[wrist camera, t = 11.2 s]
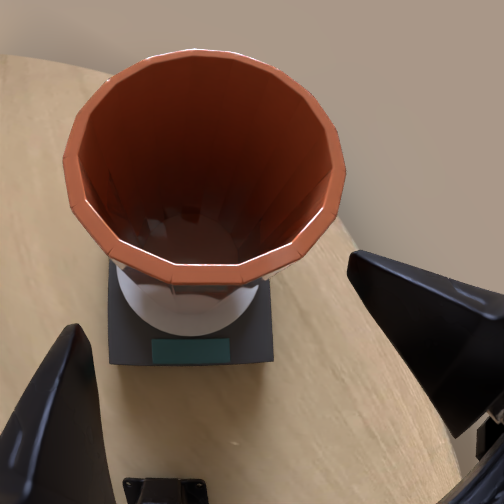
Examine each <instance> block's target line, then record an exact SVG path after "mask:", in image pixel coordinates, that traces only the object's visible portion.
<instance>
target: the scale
mask: <svg viewBox="0 0 504 504" xmlns="http://www.w3.org/2000/svg"><path fill="white" fill-rule="evenodd" d="M108 346H109V364H114V365H135V366H212V365H233V364H249V363H261V362H273V361H274V354H273V335H272V316H271V298H270V281H269V279H267V280H266V281H264V282H262V283H260V284H259V285H257V286H255V287H254V288H252V289H250V290H249V291H247V292H245V293H243V294H242V295H240V296H238V297H237V298H235V299H233V300H231V301H230V302H228V303H226V304H224V305H223V306H221V307H218V308H216V309H214V310H212V311H209V312H207V313H204V314H201V315H180V314H177V313H174V312H171V311H169V310H167V309H165V308H163V307H160V306H159V305H157V304H156V303H155V302H154V301H153V300H152V299H151V298H150V297H149V296H148V295H147V294H145V293H144V292H143V291H142V290H141V289H140V288H139V287H138V286H137V285H136V284H135V283H134V282H133V281H132V280H131V279H130V278H129V277H128V276H127V275H126V274H125V273H124V272H123V271H122V270H121V269H120V268H119V267H118V266H117V265H116V264H115V263H114V262H113V261H112V260H111V259H109V278H108Z"/></svg>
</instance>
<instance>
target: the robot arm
mask: <svg viewBox="0 0 504 504" xmlns="http://www.w3.org/2000/svg"><path fill="white" fill-rule="evenodd" d="M347 277H348V279H349V281H350V282H351V284H352V285H353V287H354V289H355V290H356V292H357V294H358V295H359V297H360V299H361V300H362V302H363V304H364V305H365V307H366V308H367V310H368V312H369V313H370V314H371V316H372V317H373V319H374V320H375V321H376V323H377V324H378V325H379V327H380V328H381V329H382V331H383V332H384V334H385V335H386V336H387V338H388V339H389V341H390V342H391V343H392V345H393V346H394V348H395V349H396V350H397V352H398V353H399V355H400V356H401V358H402V359H403V360H404V362H405V363H406V365H407V366H408V368H409V369H410V371H411V372H412V373H413V375H414V376H415V378H416V379H417V381H418V382H419V384H420V385H421V387H422V388H423V390H424V391H425V393H426V394H427V396H428V397H429V399H430V401H431V402H432V404H433V405H434V407H435V409H436V410H437V412H438V413H439V415H440V416H441V418H442V420H443V421H444V423H445V424H446V426H447V428H448V429H449V431H450V433H451V434H452V436H453V437H454V438H455V439H456V438H457V437H459V436H460V435H461V434H462V433H463V432H465V431H466V430H467V429H468V428H469V427H470V426H471V425H473V424H474V423H475V422H476V421H477V420H478V419H479V418H480V417H481V416H482V415H483V414H484V413H485V412H487V413H488V414H489V415H490V416H489V417H488V418H487V419H486V420H485V421H484V423H483V424H482V425H481V426H480V427H479V428H478V429H477V443H476V458H477V459H478V460H479V462H478V463H477V464H476V466H475V467H474V468H473V469H472V470H471V471H470V472H469V473H468V474H467V475H466V476H465V477H464V478H463V479H462V480H461V481H460V482H459V483H458V484H457V485H456V486H455V487H454V488H453V489H452V490H451V491H450V492H449V493H448V494H447V495H445V496H444V497H443V498H442V499H441V500H440V501H439V502H438V503H436V504H504V295H503V294H500V293H496V292H492V291H489V290H485V289H482V288H479V287H475V286H472V285H468V284H465V283H462V282H459V281H456V280H453V279H450V278H449V279H448V278H447V277H444V276H441V275H438V274H435V273H432V272H429V271H426V270H423V269H420V268H417V267H414V266H411V265H408V264H404V263H401V262H398V261H395V260H392V259H389V258H386V257H382V256H379V255H376V254H373V253H370V252H366V251H363V250H358V251H355V252H352V253H351V254H350V256H349V262H348V268H347ZM14 410H15V411H13V413H12V415H11V417H10V418H9V420H8V422H7V424H6V426H5V428H4V430H3V432H2V434H1V435H0V504H116V501H115V497H114V493H113V489H112V484H111V480H110V475H109V470H108V464H107V459H106V453H105V446H104V439H103V432H102V424H101V415H100V404H99V394H98V387H97V381H96V375H95V369H94V362H93V355H92V348H91V344H90V342H89V340H88V338H87V337H86V335H85V333H84V331H83V329H82V328H81V326H80V325H79V324H77V323H75V324H71V325H67V326H66V327H65V328H64V329H63V331H62V332H61V334H60V335H59V337H58V338H57V340H56V341H55V343H54V344H53V346H52V347H51V349H50V350H49V352H48V353H47V355H46V357H45V358H44V360H43V361H42V363H41V364H40V366H39V368H38V369H37V371H36V373H35V374H34V376H33V377H32V379H31V381H30V383H29V384H28V386H27V388H26V389H25V391H24V393H23V395H22V396H21V398H20V400H19V402H18V404H17V405H16V407H15V409H14ZM126 482H129V483H131V484H132V485H129V484H127V483H126ZM197 484H202V486H197ZM123 488H124V492H125V495H126V499H127V503H128V504H209V502H208V495H207V488H206V483H205V481H204V480H201V479H186V480H179V479H177V478H145V479H140V478H125V479H124V480H123Z"/></svg>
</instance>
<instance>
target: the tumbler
mask: <svg viewBox="0 0 504 504" xmlns="http://www.w3.org/2000/svg"><path fill="white" fill-rule="evenodd" d="M63 169H64V175H65V182H66V187H67V193H68V198H69V204H70V208H71V210H72V212H73V214H74V215H75V216H76V218H77V219H78V220H79V222H80V223H81V224H82V225H83V227H84V228H85V229H86V231H87V232H88V233H89V234H90V236H91V237H92V238H93V239H94V240H95V242H96V243H97V244H98V245H99V247H100V248H101V249H102V250H103V251H104V253H105V254H106V255H107V256H108V257H109V258H110V259H111V260H112V261H113V262H114V263H115V264H116V265H117V266H118V267H119V268H120V269H121V270H122V271H123V272H124V273H125V274H126V275H127V276H128V277H129V278H130V279H131V280H132V281H133V282H134V283H135V284H136V285H137V286H138V287H139V288H140V289H141V290H142V291H143V292H144V293H145V294H147V295H148V296H149V297H150V298H151V299H152V300H153V301H154V302H155V303H156V304H157V305H159V306H160V307H163V308H165V309H167V310H169V311H171V312H174V313H177V314H180V315H201V314H204V313H207V312H209V311H212V310H214V309H216V308H218V307H221V306H223V305H224V304H226V303H228V302H230V301H231V300H233V299H235V298H237V297H238V296H240V295H242V294H243V293H245V292H247V291H249V290H250V289H252V288H254V287H255V286H257V285H259V284H260V283H262V282H264V281H266V280H267V279H269V278H271V277H272V276H274V275H276V274H277V273H279V272H281V271H282V270H284V269H286V268H287V267H289V266H291V265H292V264H294V263H296V262H297V261H299V260H300V259H301V258H303V257H304V256H305V255H306V254H307V252H308V251H309V250H310V249H311V248H312V247H313V245H314V244H315V243H316V242H317V241H318V239H319V238H320V237H321V236H322V235H323V234H324V232H325V231H326V230H327V229H328V228H329V226H330V225H331V224H332V223H333V221H334V220H335V219H336V217H337V213H338V209H339V205H340V200H341V196H342V191H343V187H344V182H345V177H346V167H345V162H344V158H343V154H342V149H341V145H340V140H339V136H338V132H337V130H336V128H335V126H334V125H333V123H332V122H331V120H330V119H329V117H328V116H327V114H326V113H325V112H324V110H323V109H322V107H321V106H320V104H319V103H318V101H317V100H316V99H315V97H314V96H313V95H312V94H311V93H310V92H309V91H307V90H306V89H304V87H302V86H301V85H300V84H298V83H297V82H296V81H294V80H293V79H291V78H290V77H289V76H288V75H286V74H285V73H284V72H282V71H281V70H279V69H277V68H276V67H273V66H271V65H268V64H266V63H263V62H261V61H258V60H255V59H252V58H250V57H247V56H244V55H241V54H238V53H234V52H225V51H214V50H200V49H192V50H191V49H188V50H183V51H177V52H172V53H167V54H162V55H157V56H153V57H149V58H146V59H144V60H142V61H140V62H138V63H136V64H134V65H132V66H130V67H129V68H127V69H125V70H123V71H121V72H120V73H118V74H116V75H114V76H113V77H111V78H109V79H108V80H107V81H105V83H104V84H103V85H102V86H101V87H100V88H99V89H98V90H97V91H96V92H95V93H94V95H93V96H92V97H91V98H90V99H89V100H88V101H87V103H86V104H85V105H84V106H83V107H82V108H81V110H80V111H79V112H78V114H77V115H76V118H75V121H74V123H73V126H72V129H71V132H70V135H69V138H68V142H67V145H66V148H65V151H64V155H63Z"/></svg>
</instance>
